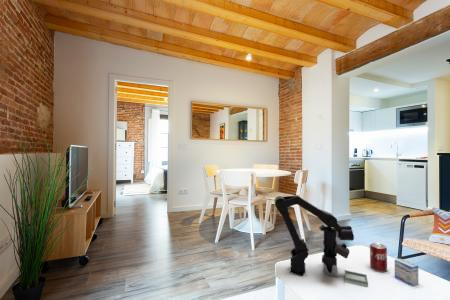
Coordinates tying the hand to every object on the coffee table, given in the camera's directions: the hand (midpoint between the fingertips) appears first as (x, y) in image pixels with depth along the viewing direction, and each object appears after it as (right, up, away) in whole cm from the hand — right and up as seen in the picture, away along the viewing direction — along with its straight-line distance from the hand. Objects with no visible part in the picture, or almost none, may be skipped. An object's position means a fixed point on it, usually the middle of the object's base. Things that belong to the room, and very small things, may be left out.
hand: (330, 270), depth 112 cm
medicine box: (+33, -1, -7) cm, 33 cm away
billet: (0, -2, 0) cm, 2 cm away
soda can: (+27, -2, +4) cm, 27 cm away
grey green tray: (+9, -2, -6) cm, 11 cm away
